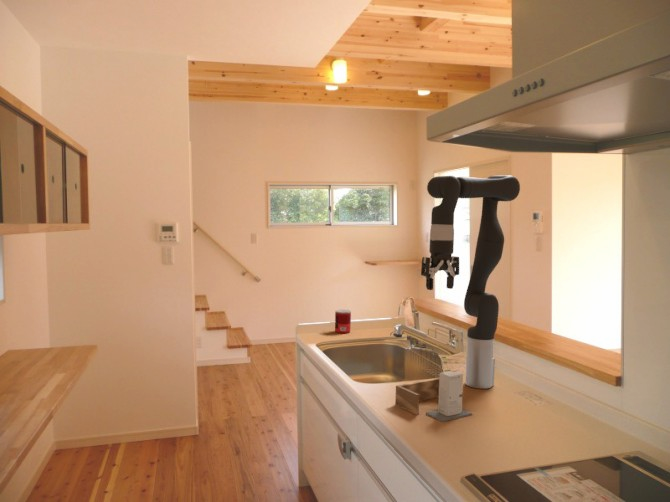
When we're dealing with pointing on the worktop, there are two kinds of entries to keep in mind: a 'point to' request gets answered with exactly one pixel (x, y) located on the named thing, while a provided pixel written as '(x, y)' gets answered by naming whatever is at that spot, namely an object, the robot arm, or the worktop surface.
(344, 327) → the canned food
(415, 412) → the brown wooden u-shaped piece
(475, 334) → the robot arm
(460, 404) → the skincare box
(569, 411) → the worktop surface
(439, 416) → the grey mat
